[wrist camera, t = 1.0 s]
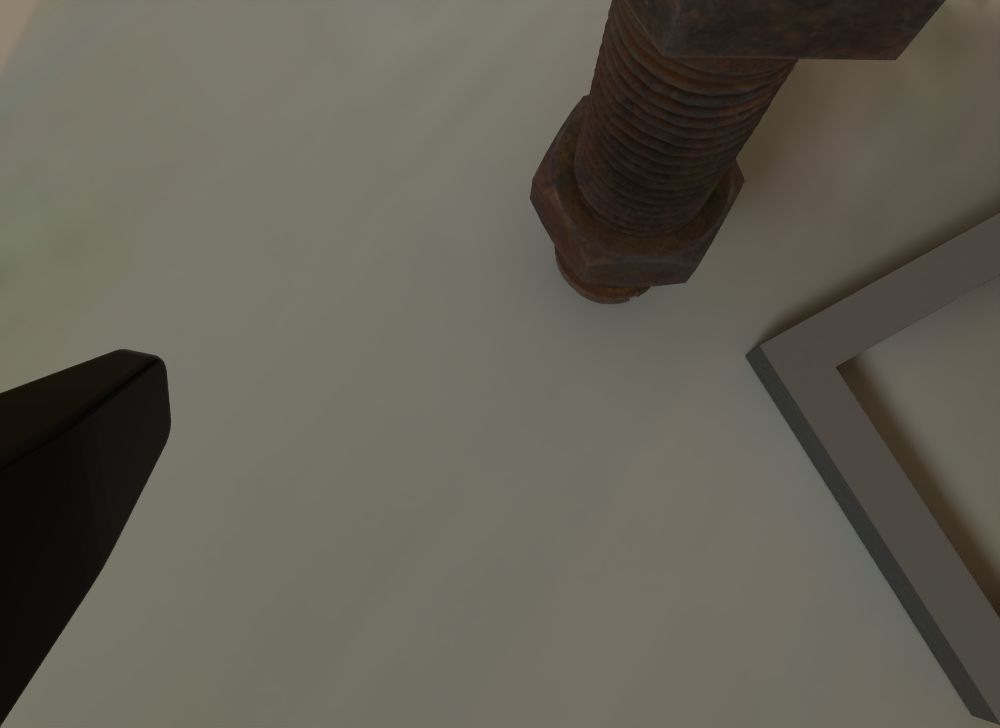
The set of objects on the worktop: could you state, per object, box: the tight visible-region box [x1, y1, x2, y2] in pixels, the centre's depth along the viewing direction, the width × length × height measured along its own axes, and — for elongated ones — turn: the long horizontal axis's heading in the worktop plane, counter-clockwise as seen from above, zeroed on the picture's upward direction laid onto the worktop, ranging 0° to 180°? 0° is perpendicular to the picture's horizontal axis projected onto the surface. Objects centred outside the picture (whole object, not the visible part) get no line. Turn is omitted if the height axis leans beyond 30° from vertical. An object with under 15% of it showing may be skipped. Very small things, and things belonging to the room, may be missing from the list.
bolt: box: [530, 0, 945, 304], centre depth 16 cm, size 6×5×15 cm
